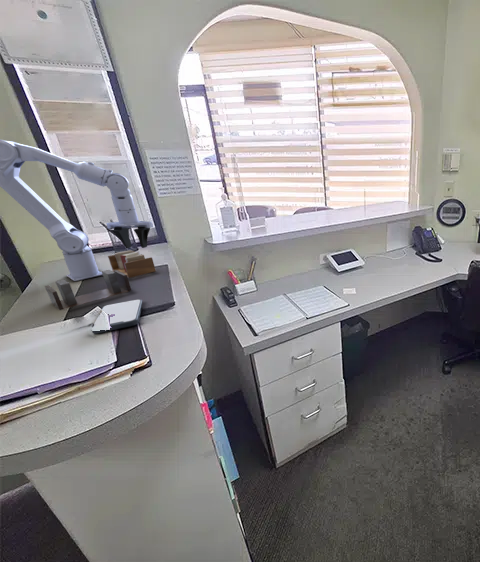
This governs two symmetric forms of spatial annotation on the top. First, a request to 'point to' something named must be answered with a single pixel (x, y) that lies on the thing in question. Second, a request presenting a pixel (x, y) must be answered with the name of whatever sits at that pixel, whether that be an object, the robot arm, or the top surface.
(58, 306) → the grey book rack
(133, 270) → the wooden desk organizer
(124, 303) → the phone case
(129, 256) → the red boxy piece
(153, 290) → the top surface
